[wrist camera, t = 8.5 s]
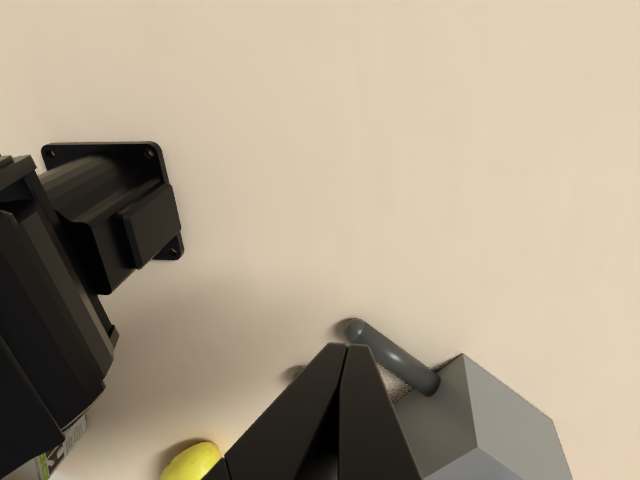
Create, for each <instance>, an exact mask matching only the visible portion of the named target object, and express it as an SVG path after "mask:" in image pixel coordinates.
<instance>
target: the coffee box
mask: <svg viewBox="0 0 640 480" xmlns="http://www.w3.org/2000/svg"><path fill="white" fill-rule="evenodd" d="M85 431H86V419H85V413H84V415H83V416H82V417H81V418H80V419H79V420H78V421H77V422H76V423H74V424H73V425H72V426H71V427H70V428H68V429H67V430H66V431H64V432H63V433H64V435H65V437H66V439H65V441H64V442H63V443H62V444H61V445H59V446H57V447H55V448H53V449H51V450H49V451H47V452H45V453H43V454H41V455H39V456H37V457H35V458H33V459H31V460H30V461H28V462H27V463H25V464H23V465H22V466H20V467H19V468H17V469H16V470H14V471H13V472H11V473H10V474H8V475H7V476H5V477H4V478H2V479H1V480H48V479H49V478H50V476H51V475H52V474H53V472H54V471H55V470H56V468H57V467H58V466H59V464H60V463H61V462H62V461H63V459H64V458H65V457H66V456H67V454H68V453H69V452H70V450H71V449H72V448H73V447H74V445H75V444H76V443H77V441H78V440H79V439H80V438H81V437H82V435H83V434H84V432H85Z"/></svg>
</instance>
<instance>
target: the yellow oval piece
mask: <svg viewBox="0 0 640 480" xmlns="http://www.w3.org/2000/svg"><path fill="white" fill-rule="evenodd" d="M220 458H222V457H221V454H220V452H219V450H218V448H217V447H216V446H215V445H214V444H213V443H210V442H202V443H198V444H196V445H194V446H192V447H190V448H188V449H186V450H184V451H183V452H181V453H180V454H179V455H177V456H176V457H175V458H174V459H173V460H172V461H171V462H170V463H168V464H167V465H166V466H165V468H164V470H163V472H162V475H161V478H160V480H201V479H202V478H203V477H204V476H205V475H206V474H207V472H208V471H209V470H210V469H211V468H212V467H213V466H214V465H215V464H216V463H217V462H218V461H219V460H220Z"/></svg>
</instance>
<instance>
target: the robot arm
mask: <svg viewBox="0 0 640 480" xmlns="http://www.w3.org/2000/svg"><path fill="white" fill-rule="evenodd" d="M148 149H150V150H152V152H153V156H151V155H150V154H149V153H148ZM51 151H53V153H54V154H55V156H54V155H52V153H51ZM41 154H42V157H43V160H44V163H45V165H46V168H47V172H45V173H43V174H40V175H38V176H37V174H36V172H35V169H36V168H37V167H36V165H35V163H34V161H33V159H32V157H31V155H25V156H19V157H14V158H12V156H11V155H9V156H1V154H0V480H1V479H2V478H4V477H5V476H7V475H8V474H10V473H11V472H13V471H14V470H16V469H17V468H19V467H20V466H22V465H23V464H25V463H27V462H28V461H30V460H31V459H33V458H35V457H37V456H39V455H41V454H43V453H45V452H47V451H49V450H51V449H53V448H55V447H57V446H59V445H61V444H62V443H63V442H64V441H65V439H66V437H65V435H64V433H63V432H64V431H66V430H67V429H68V428H70V427H71V426H72V425H73V424H74V423H76V422H77V421H78V420H79V419H80V418H81V417H82V416H83V415H84V413H85V412H86V411H87V410H88V409H89V408H90V407H91V406H92V405H93V404H94V402H95V401H96V400H97V399H98V398H99V397H100V396H101V394H102V393H103V391H104V389H105V387H106V386H105V383H104V381H103V379H104V378H105V376H106V374H107V372H108V370H109V368H110V366H111V364H112V362H113V351H114V348H115V346H116V343H117V341H118V338H119V333H118V331H117V329H116V327H115V326H114V325H111V323H110V321H109V319H108V317H107V315H106V313H105V311H104V309H103V307H102V305H101V303H100V301H99V299H98V297H97V296H98V295H109V294H111V293H112V292H113V291H114V290H115V289H116V288H117V287H118V286H119V285H120V284H121V283H122V282H123V281H124V280H125V279H126V278H127V277H128V276H130V275H131V274H132V273H133V272H134V271H135V270H136V269H138V270H140V269H142V268H143V267H144V266H145V265H146V264H147V263H148V262H149V261H150V260H151V259H155V260H178V259H179V258H180V257H181V256H182V255H183V253H184V246H183V242H182V237H181V233H180V230H181V224H180V220H179V215H178V211H177V206H176V202H175V197H174V193H173V189H172V186H171V185H170V183H169V180H168V176H167V171H166V167H165V163H164V158H163V154H162V150H161V148H160V146H159V145H158V144H156V143H155V142H151V141H143V142H73V143H50V144H47V145H44V146H43V147H42V149H41ZM171 248H173V249H175V250H176V252H177V253H175V252H173V251H172V249H171ZM224 457H225V458H223V457H222V458H220V460H219V461H218V462H217V463H216V464H215V465H214V466H213V467H212V468H211V469H210V470H209V471H208V472H207V474H206V475H205V476H204V477H203V478H202V479H201V480H336V479H337V480H423V479H422V476H421V474H420V471H419V469H418V466H417V464H416V461H415V459H414V456H413V454H412V452H411V449H410V447H409V444H408V442H407V439H406V437H405V434H404V432H403V429H402V427H401V424H400V422H399V419H398V417H397V414H396V412H395V409H394V407H393V404H392V402H391V399H390V397H389V394H388V392H387V389H386V387H385V384H384V382H383V379H382V377H381V374H380V372H379V369H378V367H377V364H376V362H375V359H374V357H373V354H372V352H371V349H370V347H369V346H368V345H361V344H350V345H349V347H348V345H347V344H345V343H333V342H330V343H328V344H327V345H326V346H325V347H324V348H323V349H322V350H321V351H320V352H319V353H318V354H317V355H316V356H315V357H314V359H313V360H312V361H311V362H310V363H309V364H308V365H307V366H306V367H305V368H304V369H303V370H302V371H301V373H300V374H299V375H298V376H297V377H296V378H295V379H294V380H293V381H292V382H291V383H290V384H289V385H288V387H287V388H286V389H285V390H284V391H283V392H282V393H281V394H280V395H279V396H278V397H277V398H276V399H275V401H274V402H273V403H272V404H271V405H270V406H269V407H268V408H267V409H266V410H265V411H264V412H263V413H262V415H261V416H260V417H259V418H258V419H257V420H256V421H255V422H254V423H253V424H252V425H251V426H250V427H249V429H248V430H247V431H246V432H245V433H244V434H243V435H242V436H241V437H240V438H239V439H238V440H237V442H236V443H235V444H234V445H233V446H232V447H231V448H230V449H229V450H228V451H227V452H226V453H225V455H224Z"/></svg>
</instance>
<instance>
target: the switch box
mask: <svg viewBox="0 0 640 480" xmlns="http://www.w3.org/2000/svg"><path fill="white" fill-rule="evenodd" d="M344 336H345V338H346V339H347V341H349V342H350V343H351V344H361V345H368V346H369V347H370V349H371V352H372V354H373V357H374V359H375V361H376V362H378V363H379V364H381V365H382V366H383V367H385V368H386V369H388V370H389V371H391V372H392V373H393V374H395V375H396V376H398V377H399V378H400V379H402V380H403V381H405V382H406V383H407V384H409V385H410V386H412V387H413V388H414V390H413V391H411V392H410V393H408V394H407V395H406V396H404V397H403V398H402V399H400V400H399V401H398V402H396V403H395V404H394V405H393V407H394V409H395V412H396V414H397V417H398V419H399V422H400V424H401V427H402V429H403V432H404V434H405V437H406V439H407V442H408V444H409V447H410V449H411V452H412V454H413V456H414V459H415V461H416V464H417V466H418V469H419V471H420V474H421V476H422V479H423V480H573V478H572V475H571V472H570V469H569V466H568V463H567V460H566V458H565V455H564V452H563V449H562V446H561V443H560V440H559V438H558V435H557V432H556V429H555V426H554V423H553V420H552V419H550V418H549V417H548V416H546V415H545V414H544V413H542V412H541V411H540V410H538V409H537V408H536V407H534V406H533V405H532V404H530V403H529V402H528V401H526V400H525V399H524V398H522V397H521V396H520V395H518V394H517V393H516V392H514V391H513V390H512V389H510V388H509V387H507V386H506V385H505V384H503V383H502V382H501V381H499V380H498V379H497V378H495V377H494V376H493V375H491V374H490V373H489V372H487V371H486V370H485V369H483V368H482V367H481V366H479V365H478V364H477V363H475V362H474V361H473V360H471V359H470V358H469V357H467V356H466V355H465V354H461V355H460V356H459V357H457V358H456V359H455V360H453V361H452V362H450V363H449V364H448V365H446V366H445V367H444V368H442V369H441V370H440V371H438V372H437V373H435V372H433V371H432V370H431V369H429V368H428V367H427V366H425V365H424V364H422V363H421V362H420V361H418V360H417V359H415V358H414V357H413V356H411V355H410V354H409V353H407V352H406V351H404V350H403V349H402V348H400V347H399V346H398V345H396V344H395V343H393V342H392V341H391V340H389V339H388V338H387V337H385V336H384V335H382V334H381V333H380V332H378V331H377V330H376V329H374V328H373V327H371V326H370V325H369V324H367V323H366V322H364V321H363V320H361V319H352V320H350V321H348V322H347V323H346V325H345V327H344ZM304 368H305V367H300V368H298V369H297V370H296V371H295V373H294V375H293V380H294V379H295V378H296V377H297V376H298V375H299V374H300V373H301V371H302V370H303V369H304Z"/></svg>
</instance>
